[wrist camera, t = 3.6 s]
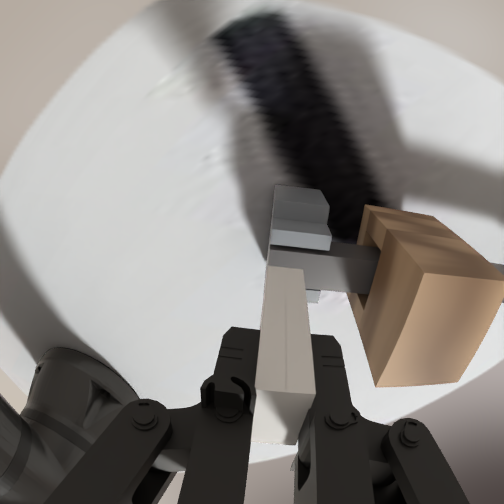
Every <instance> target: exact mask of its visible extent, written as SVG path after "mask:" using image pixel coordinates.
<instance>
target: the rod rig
mask: <svg viewBox="0 0 504 504" xmlns="http://www.w3.org/2000/svg"><path fill="white" fill-rule="evenodd" d="M329 209H330V206H329V204H328V203H327V201H326V199H325V197H324V196H323V194H322V192H321V190H317V189H309V188H301V187H293V186H285V185H276V184H275V191H274V200H273V209H272V218H271V227H270V236H269V245H268V254H267V262H266V273H267V266H276V267H285V268H294V269H303V273H304V281H305V290H306V298H307V303H318V301H319V296H320V292H321V291H320V290H327V291H338V292H349V293H360V294H369V293H370V289H371V286H372V283H373V279H374V276H375V272H376V269H377V265H378V261H379V258H380V254H381V250H380V249H379V247H371V246H363V245H355V244H347V243H338V242H331V239H332V235H331V232H330V230H329V228H328V225H327V220H328V214H329ZM491 264H492V265H493V266H494V267H495V268H496V269H497V270H498V271H499V272H501V273H502V274H503V275H504V265H502V264H495V263H491ZM266 273H265V282H266ZM264 290H265V284H264ZM502 303H504V298H503V300H502Z"/></svg>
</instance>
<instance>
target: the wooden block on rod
mask: <svg viewBox="0 0 504 504" xmlns="http://www.w3.org/2000/svg"><path fill="white" fill-rule="evenodd" d="M356 245H363V246H371V247H379V249H380V250H381V254H380V258H379V261H378V265H377V269H376V272H375V276H374V279H373V283H372V286H371V289H370V293H369V294H360V293H349V292H346V293H347V296H348V299H349V302H350V305H351V308H352V311H353V314H354V317H355V321H356V324H357V327H358V330H359V333H360V336H361V340H362V343H363V346H364V350H365V353H366V356H367V360H368V363H369V367H370V370H371V374H372V377H373V381H374V384H375V387H404V386H421V385H434V384H445V383H455V382H458V381H459V379H460V378H461V376H462V374H463V373H464V371H465V370H466V368H467V366H468V365H469V363H470V362H471V360H472V358H473V357H474V355H475V353H476V351H477V350H478V348H479V346H480V344H481V342H482V341H483V339H484V337H485V335H486V333H487V331H488V329H489V327H490V325H491V323H492V321H493V319H494V317H495V315H496V313H497V311H498V309H499V307H500V305H501V303H502V300H503V298H504V275H503V274H502V273H501V272H499V271H498V270H497V269H496V268H495V267H494V266H493V265H492V264H491V263H490V262H488V261H487V260H486V259H485V258H484V257H483V256H482V255H480V254H479V253H478V252H477V251H476V250H475V249H473V248H472V247H471V246H470V245H469V244H467V243H466V242H465V241H464V240H463V239H461V238H460V237H459V236H458V235H456V234H455V233H454V232H453V231H451V230H450V229H449V228H448V227H446V226H445V225H444V224H442V223H441V222H440V221H439V220H437V219H436V218H435V217H433V216H429V215H424V214H418V213H413V212H407V211H402V210H396V209H390V208H384V207H378V206H372V205H366V204H365V206H364V211H363V216H362V221H361V226H360V231H359V235H358V240H357V244H356Z"/></svg>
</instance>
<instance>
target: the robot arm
mask: <svg viewBox="0 0 504 504" xmlns="http://www.w3.org/2000/svg"><path fill="white" fill-rule="evenodd" d="M344 367H345V365H344V360H343V355H342V350H341V346H340V344H339V343H338V342H337V340H336V339H335V338H334V336H330V335H317V334H310V325H309V316H308V307H307V298H306V290H305V281H304V273H303V269H294V268H285V267H276V266H267V273H266V282H265V290H264V298H263V306H262V314H261V323H260V330H256V329H247V328H239V327H231V328H230V329H229V330H228V331H227V332H226V333H225V334H224V335H223V339H222V343H221V347H220V351H219V355H218V359H217V362H216V366H215V370H214V374H213V375H212V376H210V377H209V378H208V379H206V380H205V381H204V383H203V384H202V386H201V388H200V390H201V402H200V403H198V404H197V405H194V406H192V407H187V408H179V409H166V407H165V406H164V405H162V404H161V403H159V402H158V401H155V400H151V399H139V398H138V397H137V395H136V394H135V392H134V391H133V390H132V389H131V388H130V387H129V386H128V385H127V383H125V382H124V381H123V380H122V379H121V378H120V377H119V376H118V375H117V374H115V373H114V372H113V371H111V370H110V369H109V368H107V367H106V366H104V365H103V364H101V363H100V362H98V361H96V360H95V359H93V358H91V357H89V356H87V355H85V354H83V353H80V352H78V351H75V350H71V349H67V348H53V349H50V350H48V351H47V352H46V353H45V355H44V356H43V357H42V358H41V360H40V361H39V362H38V364H37V366H36V370H35V375H34V378H33V381H32V384H31V388H30V392H29V396H28V400H27V404H26V406H25V408H24V409H23V411H22V412H21V414H20V415H19V414H18V413H17V412H16V411H15V409H14V408H13V407H12V406H11V405H10V404H9V403H8V402H7V401H6V400H5V398H4V397H3V396H2V395H1V394H0V504H158V502H159V500H160V499H161V497H162V496H163V494H164V492H165V491H166V489H167V488H168V486H169V484H170V483H171V481H172V480H173V478H174V476H175V475H176V473H177V471H185V475H184V479H183V483H182V487H181V491H180V495H179V499H178V503H177V504H243V503H244V496H245V487H246V480H247V471H248V462H249V453H250V445H251V442H257V443H268V444H282V445H296V443H297V440H298V453H297V455H296V457H295V459H294V461H293V463H292V466H291V469H290V471H291V470H292V471H293V470H294V469H295V479H294V480H295V481H294V504H469V502H468V500H467V498H466V496H465V494H464V492H463V490H462V488H461V486H460V485H459V483H458V481H457V479H456V477H455V475H454V474H453V472H452V470H451V468H450V466H449V464H448V463H447V461H446V459H445V457H444V456H443V454H442V452H441V450H440V449H439V447H438V445H437V443H436V442H435V440H434V438H433V437H432V435H431V433H430V431H429V430H428V429H427V427H426V426H425V425H424V424H423V423H421V422H419V421H418V420H415V419H411V418H404V419H400V420H398V421H396V422H394V424H393V425H392V426H388V425H384V424H380V423H376V422H372V421H369V420H367V419H365V418H364V417H362V416H361V415H360V413H359V411H358V410H357V409H356V408H355V407H354V406H353V405H352V402H351V397H350V391H349V386H348V380H347V375H346V370H345V368H344Z"/></svg>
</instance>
